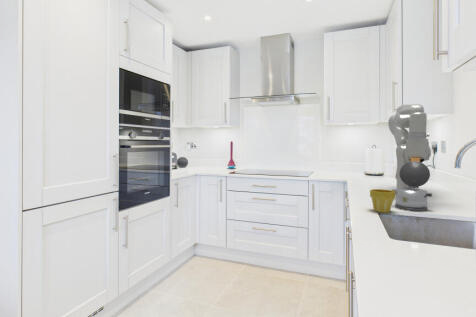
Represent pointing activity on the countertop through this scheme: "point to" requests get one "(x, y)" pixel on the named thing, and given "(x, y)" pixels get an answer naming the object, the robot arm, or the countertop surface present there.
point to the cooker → (411, 199)
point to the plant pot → (382, 199)
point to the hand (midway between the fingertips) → (416, 171)
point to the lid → (414, 173)
